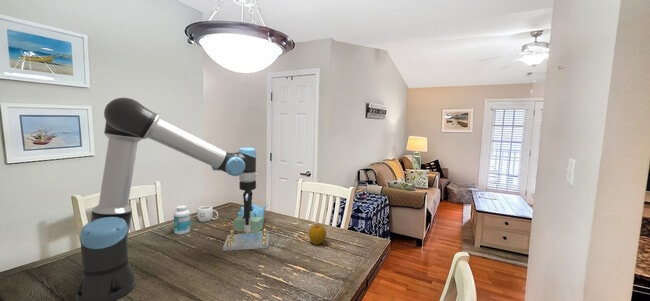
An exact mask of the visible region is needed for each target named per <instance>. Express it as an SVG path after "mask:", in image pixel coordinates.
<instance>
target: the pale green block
mask: <svg viewBox="0 0 650 301" xmlns="http://www.w3.org/2000/svg"><path fill="white" fill-rule="evenodd" d="M242 217H244V216H239V215H238V216H237V217H236V218H235V219H233V230H234V232H235V231H237V232H244V218H242ZM263 229H264V223H263V217H251V216H250V231H248V232H253V233H259V232H260V231H261V230H263Z"/></svg>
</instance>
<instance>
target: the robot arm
mask: <svg viewBox="0 0 650 301" xmlns="http://www.w3.org/2000/svg"><path fill="white" fill-rule="evenodd" d="M103 115H104V118H105V125H104V131H103V132H104V135H105V137H107V138H108V143H107V149H106V154H105V156H106V157H105V161H104V162H105V163H104V168H103V175H102V181H101V186H100V194H99V200H98V204H97V205H96V206H94V207H93V208H92V210H91V215H90V216H91V217H90V221H89V222H87V223H86V224H84V225H83V226H82V227H81V229H80V234H79V241H80V249H81V250H80V252H81V269H82V274H81V275H82V276H81V279H80V281H79V283H78V288H77V290H76V293H75V301H116V300H119V299H121V298H122V297H124V296H126V295H128V294H129V293H130V292H132V290H134V289H135V287H136V276H135V274H134V272H133V270H132V268H131V267H130V264H129V248H128V246H129V245H128V244H129V242H128V241H129V240H128V239H129V233H130V228H131V219H132V215H133V208H132V207H131V206H130V205H129V202H130V201H129V200H130V194H131V188H132V181H133V175H134V170H135V169H134V168H135V161H136V156H137V150H138V143H139V142H140V141H142V140H146V139H150V140H153V141H155V142H156V143H159V144H161V145H164V146H166V147H168V148H170V149H173V150H175V151H176V152H180V153H181V154H184V155H185V156H188V157H190V158H192V159H195V160H197V161H199V162H202V163H204V164H206V165H209V166H211V169H212V170H213V171H219V172H221V171H222V172H224V173H226V174H227V175H229V176H233V177H239V179H238V180H239V190H241V191H244V192H243V194H242V198H243V207H244V217H242V218H244V231H243V232H245V233H246V232H249V231H250V216H251V217H252V211H253V209H252V205H253V202H252V200H253V190H256V189H257V181H256V179H257V176H258V173H257V153H256V148H254V147H240V148H239V149H238V151H237V152H228V151H226V150H224V149H222V148H220V147H218V146H216V145H214V144H212V143H210V142H208V141H206V140H204V139H203V138H200V137H198V136H196V135H194V134H192V133H190V132H188V131H186V130H184V129H181V128H180V127H177V126H176V125H173V124H172V123H170V122H167V121H166V120H163V119H161V117H160V114H158V113H155V112H153V111H152V110H150V109H149V108H148V107H145V106H144V105H142V103H140V102H139V101H138V100H135V99H133V98H129V97H118V98H115V99H112V100H111V101H109V102H108V103H107V104H106V106H105V108H104V112H103Z"/></svg>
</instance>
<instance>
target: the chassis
mask: <svg viewBox="0 0 650 301" xmlns="http://www.w3.org/2000/svg"><path fill="white" fill-rule="evenodd" d="M229 230H230V233H229V234H228V235H226V239H225V242H224V244H223V247H222V251H223V252H224V251H238V250H256V249H259V248H260V249H269V247H270V232H267V228H264V227H263V228H262V232H260V233H259V232H253V233H238V234H237V233H236V234H234V233H235V230H234V229H229Z"/></svg>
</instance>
